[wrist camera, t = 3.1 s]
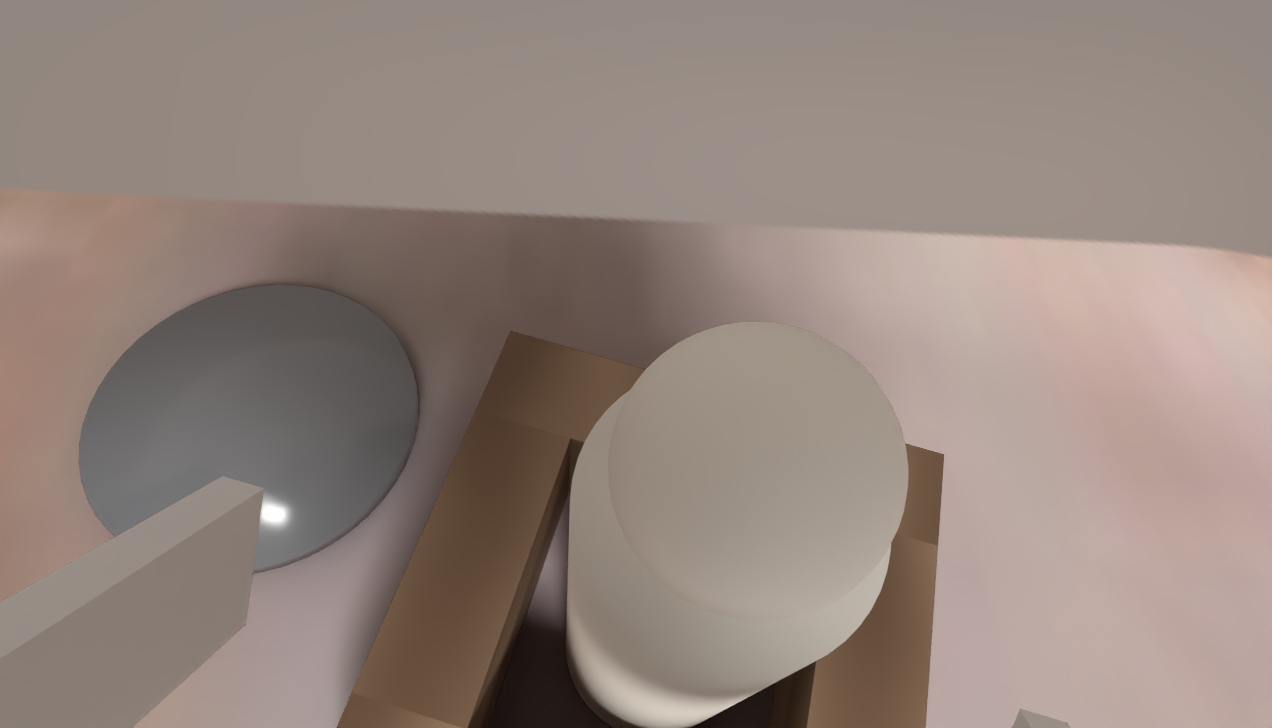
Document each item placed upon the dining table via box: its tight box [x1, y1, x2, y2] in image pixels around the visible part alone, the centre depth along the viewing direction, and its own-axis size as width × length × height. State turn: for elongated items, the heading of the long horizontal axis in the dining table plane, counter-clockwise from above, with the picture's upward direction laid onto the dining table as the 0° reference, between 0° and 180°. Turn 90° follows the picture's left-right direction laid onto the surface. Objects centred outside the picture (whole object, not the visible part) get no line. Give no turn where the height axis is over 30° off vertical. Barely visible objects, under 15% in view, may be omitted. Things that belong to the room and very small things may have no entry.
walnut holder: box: [337, 331, 944, 728], centre depth 20 cm, size 13×13×4 cm
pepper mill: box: [566, 322, 908, 728], centre depth 15 cm, size 5×5×16 cm
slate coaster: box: [79, 285, 419, 573], centre depth 24 cm, size 10×10×1 cm
